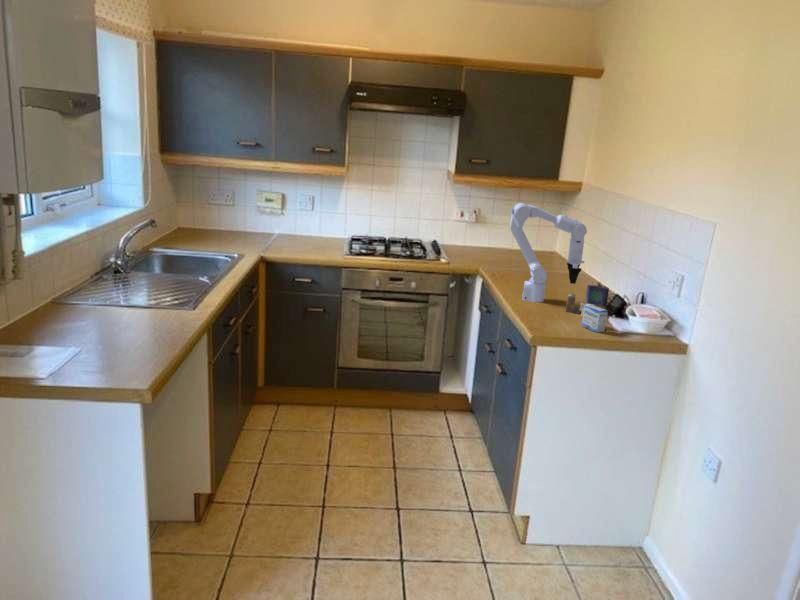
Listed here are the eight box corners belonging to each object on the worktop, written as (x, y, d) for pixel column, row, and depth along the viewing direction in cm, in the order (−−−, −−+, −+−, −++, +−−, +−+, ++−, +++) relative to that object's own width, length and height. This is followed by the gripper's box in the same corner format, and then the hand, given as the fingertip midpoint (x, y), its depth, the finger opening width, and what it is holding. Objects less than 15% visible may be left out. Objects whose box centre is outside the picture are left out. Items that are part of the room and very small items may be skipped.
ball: (587, 303, 244) (595, 309, 244) (587, 301, 248) (594, 307, 248) (581, 311, 245) (589, 317, 245) (580, 308, 249) (588, 314, 249)
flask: (584, 304, 263) (587, 280, 260) (585, 303, 266) (589, 279, 263) (605, 308, 259) (609, 284, 256) (607, 307, 261) (610, 283, 258)
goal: (581, 316, 243) (582, 309, 242) (579, 309, 252) (580, 303, 251) (594, 317, 242) (596, 310, 241) (593, 311, 251) (594, 304, 250)
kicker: (566, 312, 246) (568, 296, 244) (565, 309, 251) (567, 293, 249) (578, 313, 245) (580, 297, 243) (577, 310, 250) (580, 294, 248)
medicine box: (580, 326, 231) (584, 305, 229) (588, 325, 233) (592, 304, 231) (596, 333, 225) (600, 311, 222) (604, 331, 227) (608, 309, 225)
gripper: (586, 254, 248) (582, 286, 251) (584, 248, 261) (580, 278, 265) (569, 253, 249) (565, 284, 253) (567, 247, 263) (564, 277, 266)
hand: (572, 281), depth 259 cm, fingers open, 7 cm apart
